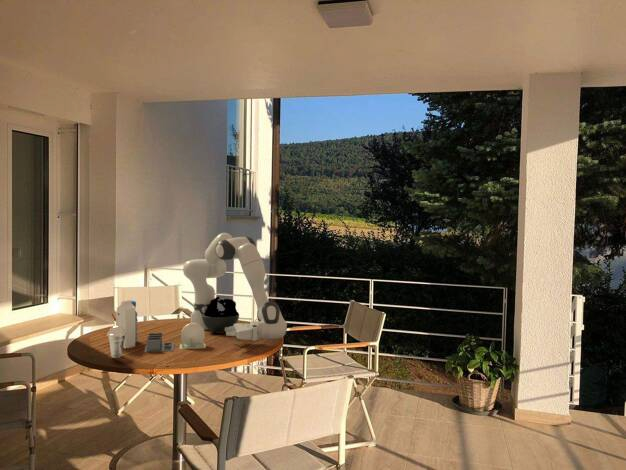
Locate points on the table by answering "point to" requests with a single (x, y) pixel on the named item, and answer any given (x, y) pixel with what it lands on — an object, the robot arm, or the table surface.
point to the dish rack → (157, 343)
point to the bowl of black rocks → (220, 315)
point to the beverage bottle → (135, 320)
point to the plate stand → (184, 346)
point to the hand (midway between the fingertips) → (225, 331)
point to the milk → (127, 322)
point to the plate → (193, 334)
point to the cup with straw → (116, 339)
